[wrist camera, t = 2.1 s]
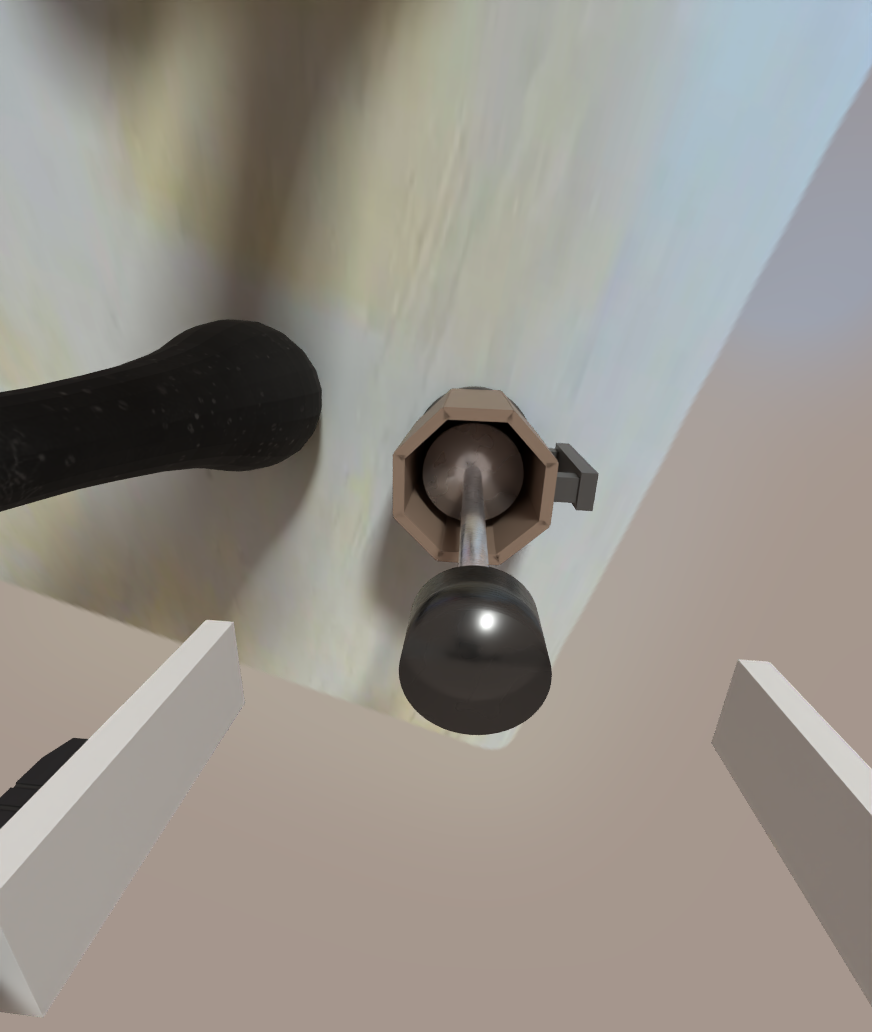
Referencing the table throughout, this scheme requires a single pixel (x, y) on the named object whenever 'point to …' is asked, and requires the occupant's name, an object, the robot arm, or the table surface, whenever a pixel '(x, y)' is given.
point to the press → (531, 512)
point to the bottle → (162, 414)
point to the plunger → (474, 599)
